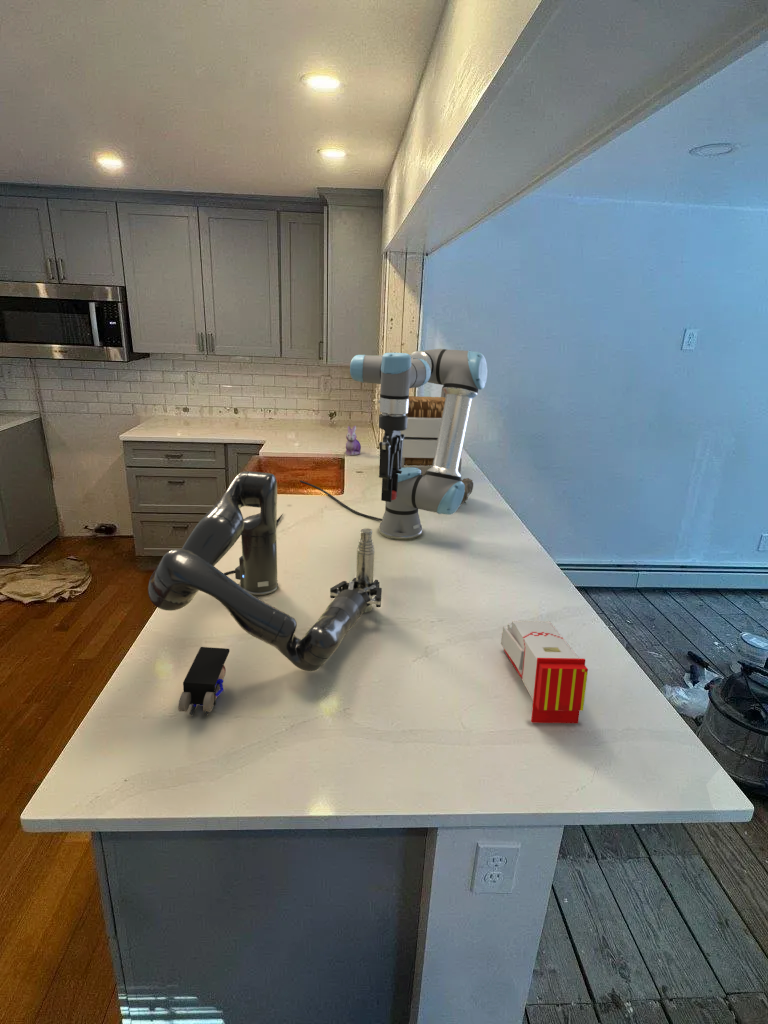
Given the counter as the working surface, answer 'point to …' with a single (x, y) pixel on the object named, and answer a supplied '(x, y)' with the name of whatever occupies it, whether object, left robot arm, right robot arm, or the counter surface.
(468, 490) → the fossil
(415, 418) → the white slatted crate
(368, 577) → the bottle
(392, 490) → the cap
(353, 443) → the figurine
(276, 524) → the feather
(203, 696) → the black wheeled cart
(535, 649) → the toy
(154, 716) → the counter surface
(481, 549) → the counter surface
